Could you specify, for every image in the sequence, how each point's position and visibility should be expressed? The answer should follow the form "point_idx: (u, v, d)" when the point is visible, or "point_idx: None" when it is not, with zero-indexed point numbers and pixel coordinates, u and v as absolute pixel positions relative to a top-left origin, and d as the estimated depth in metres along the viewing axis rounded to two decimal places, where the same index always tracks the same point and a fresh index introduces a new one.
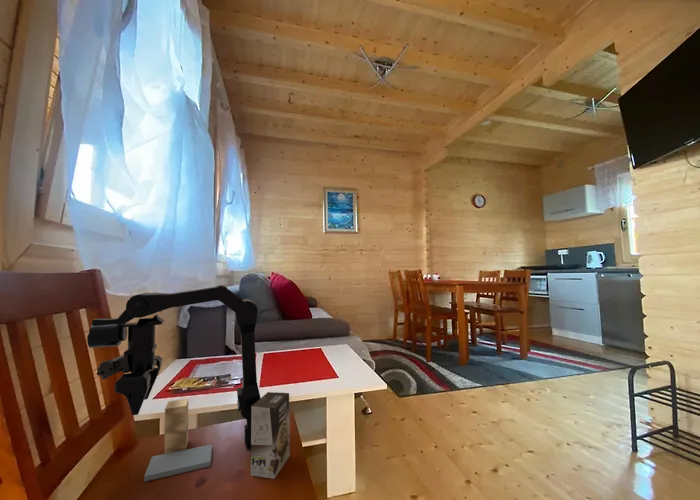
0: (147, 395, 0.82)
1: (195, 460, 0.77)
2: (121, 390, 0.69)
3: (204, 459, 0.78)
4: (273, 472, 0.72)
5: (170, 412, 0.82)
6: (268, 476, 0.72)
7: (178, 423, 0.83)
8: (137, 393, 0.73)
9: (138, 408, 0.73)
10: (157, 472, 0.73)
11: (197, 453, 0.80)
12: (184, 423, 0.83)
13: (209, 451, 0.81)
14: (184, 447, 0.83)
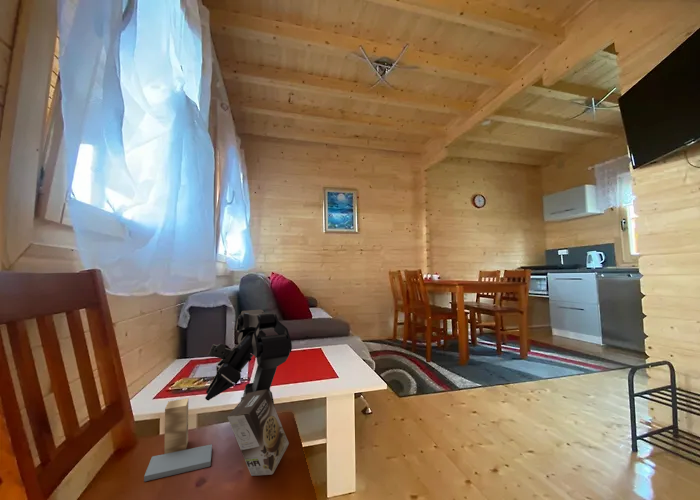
0: None
1: (195, 460, 0.77)
2: (223, 373, 0.82)
3: (204, 459, 0.78)
4: (269, 469, 0.71)
5: (170, 412, 0.82)
6: (266, 473, 0.72)
7: (178, 423, 0.83)
8: (222, 384, 0.85)
9: (213, 396, 0.84)
10: (157, 472, 0.73)
11: (197, 453, 0.80)
12: (184, 423, 0.83)
13: (209, 451, 0.81)
14: (184, 447, 0.83)
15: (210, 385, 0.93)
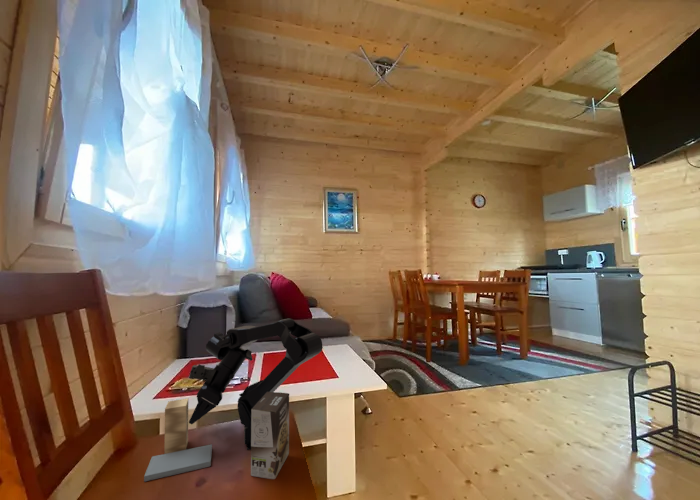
0: None
1: (195, 460, 0.77)
2: (202, 396, 0.80)
3: (204, 459, 0.78)
4: (273, 473, 0.72)
5: (170, 412, 0.82)
6: (268, 477, 0.72)
7: (178, 423, 0.83)
8: (205, 406, 0.83)
9: (196, 419, 0.82)
10: (157, 472, 0.73)
11: (197, 453, 0.80)
12: (184, 423, 0.83)
13: (209, 451, 0.81)
14: (184, 447, 0.83)
15: None
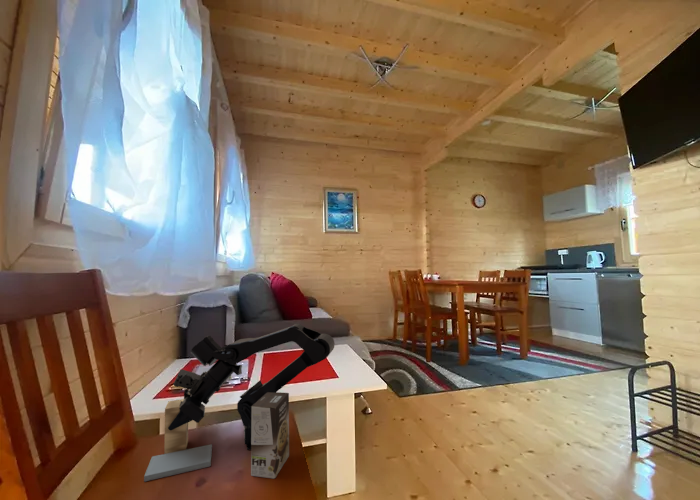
0: None
1: (195, 460, 0.77)
2: (184, 412, 0.78)
3: (204, 459, 0.78)
4: (273, 472, 0.72)
5: (170, 411, 0.82)
6: (268, 476, 0.72)
7: None
8: (186, 415, 0.82)
9: (176, 426, 0.82)
10: (157, 472, 0.73)
11: (197, 453, 0.80)
12: None
13: (209, 451, 0.81)
14: (184, 447, 0.83)
15: None
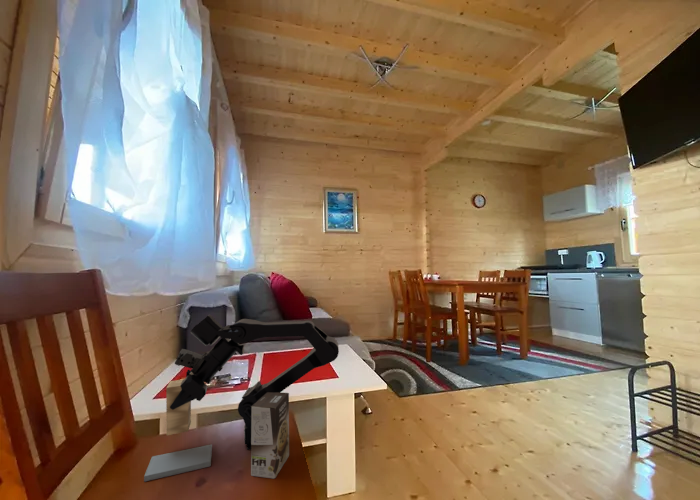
0: None
1: (195, 460, 0.77)
2: (185, 389, 0.76)
3: (204, 459, 0.78)
4: (273, 472, 0.72)
5: (171, 390, 0.81)
6: (268, 476, 0.72)
7: None
8: (188, 394, 0.81)
9: (177, 405, 0.80)
10: (157, 472, 0.73)
11: (197, 453, 0.80)
12: None
13: (209, 451, 0.81)
14: (186, 427, 0.81)
15: None
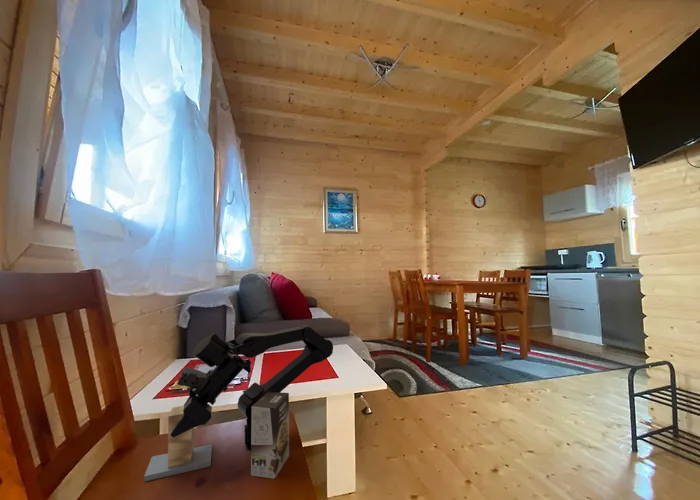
0: None
1: (195, 460, 0.77)
2: (189, 413, 0.71)
3: (204, 459, 0.78)
4: (273, 472, 0.72)
5: (174, 419, 0.76)
6: (268, 476, 0.72)
7: None
8: (191, 420, 0.74)
9: (179, 433, 0.74)
10: (157, 472, 0.73)
11: (197, 453, 0.80)
12: (189, 431, 0.77)
13: (209, 451, 0.81)
14: (189, 457, 0.76)
15: None
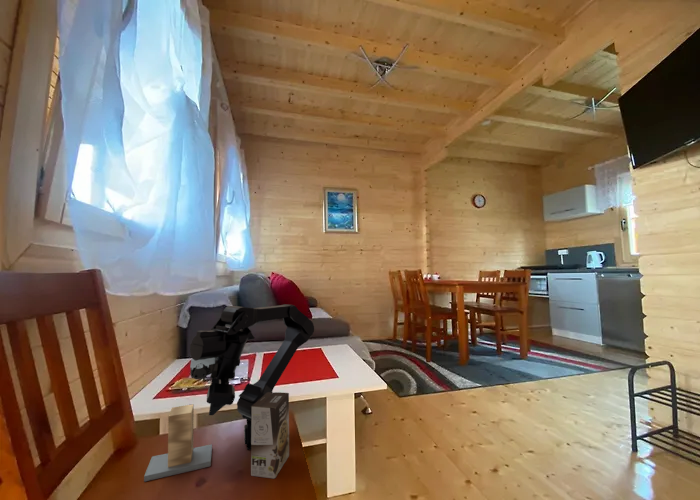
0: None
1: (195, 460, 0.77)
2: (213, 402, 0.75)
3: (204, 459, 0.78)
4: (273, 472, 0.72)
5: (174, 419, 0.76)
6: (268, 476, 0.72)
7: (182, 431, 0.76)
8: None
9: (215, 411, 0.80)
10: (157, 472, 0.73)
11: (197, 453, 0.80)
12: (189, 431, 0.77)
13: (209, 451, 0.81)
14: (189, 457, 0.76)
15: (211, 384, 0.88)
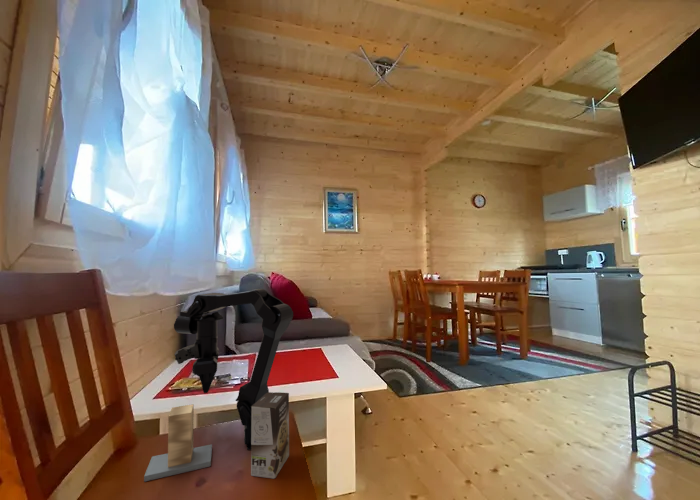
0: None
1: (195, 460, 0.77)
2: (198, 372, 0.85)
3: (204, 459, 0.78)
4: (273, 472, 0.72)
5: (174, 419, 0.76)
6: (268, 476, 0.72)
7: (182, 431, 0.76)
8: (207, 375, 0.89)
9: (208, 387, 0.89)
10: (157, 472, 0.73)
11: (197, 453, 0.80)
12: (189, 431, 0.77)
13: (209, 451, 0.81)
14: (189, 457, 0.76)
15: None
